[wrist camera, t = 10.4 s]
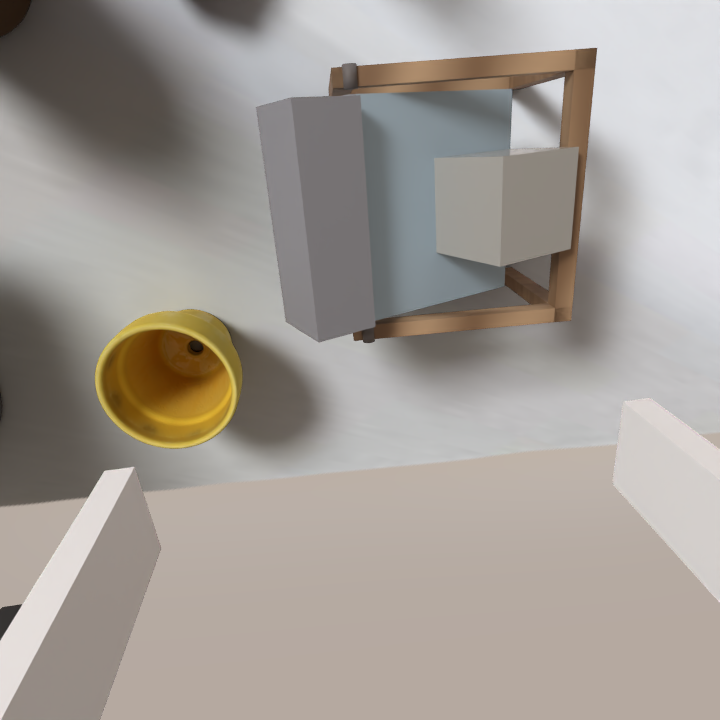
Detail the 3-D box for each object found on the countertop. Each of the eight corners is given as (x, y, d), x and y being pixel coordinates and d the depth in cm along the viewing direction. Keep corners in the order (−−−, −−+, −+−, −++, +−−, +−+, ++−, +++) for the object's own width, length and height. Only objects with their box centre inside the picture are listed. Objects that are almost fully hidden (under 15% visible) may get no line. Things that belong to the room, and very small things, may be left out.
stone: (436, 252, 35) (500, 266, 30) (434, 157, 32) (503, 156, 27) (502, 238, 37) (570, 248, 32) (504, 149, 35) (579, 146, 30)
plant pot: (269, 312, 46) (256, 353, 37) (234, 407, 49) (214, 466, 40) (154, 269, 44) (110, 302, 35) (125, 372, 47) (79, 426, 38)
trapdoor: (286, 324, 34) (319, 345, 30) (255, 103, 29) (290, 93, 25) (473, 278, 42) (519, 290, 38) (475, 94, 36) (530, 85, 32)
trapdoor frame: (346, 294, 46) (354, 344, 34) (328, 87, 39) (331, 64, 28) (511, 279, 46) (573, 323, 35) (520, 73, 40) (600, 44, 28)
